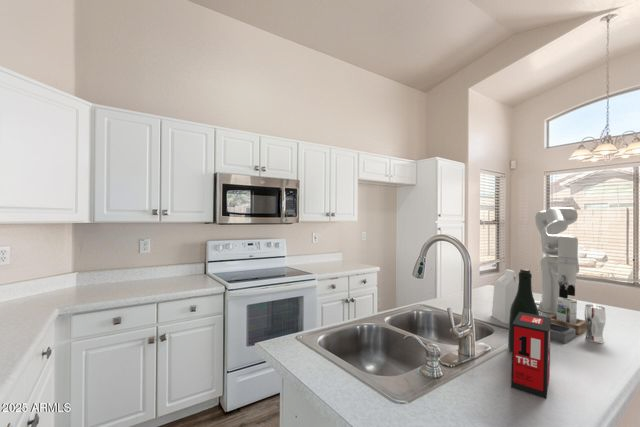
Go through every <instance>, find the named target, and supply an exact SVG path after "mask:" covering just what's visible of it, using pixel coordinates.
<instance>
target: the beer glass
mask: <svg viewBox="0 0 640 427" xmlns="http://www.w3.org/2000/svg"><path fill="white" fill-rule="evenodd" d="M606 315H607V313H606V308H605V307H604V306H601V305H597V304H589V303H587V304H585V307H584V320H585V323H586V328H587V331H586V334H585V340H587V341H588V342H591V343H595V344H604V342H605V341H604V340H605V339H604V336H603V335H604V329H605V325H606V320H607V318H606V317H607V316H606Z"/></svg>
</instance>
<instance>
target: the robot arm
mask: <svg viewBox="0 0 640 427" xmlns="http://www.w3.org/2000/svg"><path fill="white" fill-rule="evenodd" d="M534 217H535V218H534V219H535V224H536V227H537V230H538V231H539V235H540V242H541V243H540V244H541V251H542V253H543V254H544V255H545V256H544V257H542V258H541V259H540V262H539V263H540V265H539V266H540V271H541V301H539V300H535V303H536V305H537V308H538V311H540V312H542V313H547V314H550V315H553V314H557V298H568V299H569V297H568V296H572V297H575V296H576V285H575V284H576V282H577V275H578V273H579V272H580V264H579V257H578V254H579V253H578V252H579V251H578V250H579V248H578V247H579V238H578V237H577V236H574V235H569V234H568V235H566V234H560V233H563V232H565V231H566V230H567V229H568V227H569V226H570V225H572V224H574V223H575V222H577V220H578V212H577V209H576V208H574V207H571V206H568V207H564V206H562V207H561V206H555V207H554V206H553V207H549V208H547V209H546V210H540V211H538V212H536V214H535V216H534Z"/></svg>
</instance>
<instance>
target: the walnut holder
mask: <svg viewBox="0 0 640 427" xmlns="http://www.w3.org/2000/svg"><path fill="white" fill-rule="evenodd" d="M547 317H551V323H555V324H559V325H563V326H567V327H570V328H574V329H575V336H577V337H578V336H581V335H582V334H584V333H587V328H586V323H585V319H581V318H577V317H576V324H572V323H568V322H564V321H560V320H557V314H550V315H549V316H547Z"/></svg>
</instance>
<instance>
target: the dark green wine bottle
mask: <svg viewBox="0 0 640 427" xmlns="http://www.w3.org/2000/svg"><path fill="white" fill-rule="evenodd" d="M532 278H533V276H532V273H531V270H530V269H525V268H521V269H519V272H518V279H519V283H518V291H517V294H516V297H515V299H514V301H513V303H512V305H511V308H510V315H509V324H508V336H507V338H508V339H507V344H508V345H507V346H508V347H507V348H508V351H509V352H510V353H512V324H513V322H514V320H515V318H516V317H517V315H518V313H519V312H524V313H529V314H535V315H540V312H539V311H540V310H539V309H538V305H536V303H535V301H536V300H535V299H534V294H533V289H532V288H533V286H532Z"/></svg>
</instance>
